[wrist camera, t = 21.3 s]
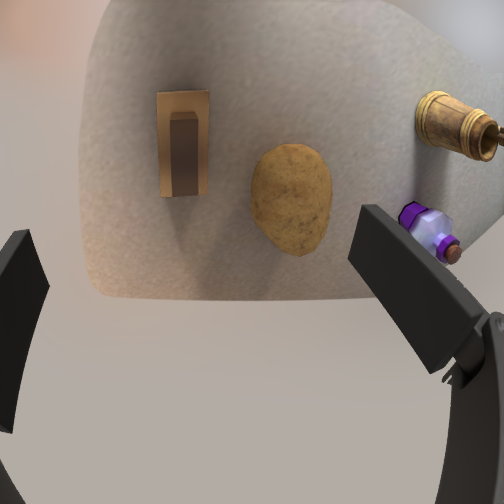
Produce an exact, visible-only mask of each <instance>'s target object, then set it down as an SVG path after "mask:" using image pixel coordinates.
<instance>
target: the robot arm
mask: <svg viewBox="0 0 504 504" xmlns="http://www.w3.org/2000/svg"><path fill="white" fill-rule="evenodd" d="M348 260H349V261H350V263H351V264H352V265H353V267H354V268H355V269H356V270H357V272H358V273H359V274H360V276H361V277H362V278H363V280H364V281H365V282H366V284H367V285H368V286H369V288H370V289H371V290H372V292H373V293H374V294H375V296H376V297H377V298H378V300H379V301H380V302H381V304H382V305H383V307H384V308H385V309H386V311H387V312H388V313H389V315H390V316H391V318H392V319H393V320H394V322H395V323H396V325H397V326H398V328H399V329H400V330H401V332H402V333H403V335H404V336H405V338H406V339H407V341H408V342H409V343H410V345H411V346H412V348H413V349H414V351H415V352H416V354H417V355H418V357H419V358H420V360H421V361H422V363H423V364H424V366H425V367H426V369H427V370H428V372H429V374H432V373H434V372H436V371H438V370H440V369H442V368H444V367H445V366H446V364H447V363H448V362H449V361H450V359H451V358H452V357H454V358H455V360H456V362H455V363H454V365H453V366H452V367H451V368H450V370H449V371H448V372H447V373H446V374H445V375H444V377H443V378H442V382H443V383H444V382H445V381H446V380H447V379H448V378H449V376H450V375H452V378H451V379H450V380H449V381H448V383H447V384H450V385H452V391H451V407H450V419H449V429H448V438H447V445H446V452H445V458H444V465H443V470H442V475H441V480H440V484H439V489H438V493H437V497H436V501H435V504H504V314H502V313H500V312H493V313H491V315H490V314H489V313H488V312H487V311H486V310H485V309H484V308H483V306H482V305H481V304H480V303H479V302H478V301H477V300H476V299H475V297H474V296H473V295H472V294H471V293H470V292H469V291H468V290H467V289H466V288H464V287H463V284H462V283H461V282H460V281H459V280H457V278H456V277H455V276H454V275H453V274H452V273H451V272H450V271H449V270H448V269H447V268H445V267H444V266H443V265H442V264H441V263H440V262H439V261H438V260H437V259H436V258H435V257H434V256H433V255H431V254H430V253H429V252H428V251H427V250H426V249H425V248H424V247H423V246H422V245H421V244H420V243H419V242H418V241H417V240H416V239H415V238H414V237H413V236H411V235H410V234H409V233H408V232H407V231H406V230H405V229H404V228H403V227H402V226H401V225H399V224H398V223H397V222H396V221H395V220H394V219H393V218H391V217H390V216H389V215H388V214H387V213H386V212H385V211H383V210H382V209H381V208H380V207H379V206H378V205H376V204H367V205H362V207H361V211H360V215H359V219H358V222H357V226H356V230H355V234H354V237H353V241H352V245H351V248H350V252H349V255H348ZM49 287H50V285H49V283H48V281H47V278H46V276H45V273H44V271H43V268H42V265H41V263H40V260H39V257H38V255H37V252H36V249H35V246H34V243H33V240H32V237H31V234H30V231H29V229H26V230H19V231H14V232H13V233H12V235H11V236H10V238H9V239H8V241H7V242H6V243H5V245H4V246H3V248H2V249H1V251H0V431H1V432H6V433H10V434H12V433H13V425H14V417H15V411H16V405H17V400H18V394H19V389H20V384H21V380H22V375H23V371H24V367H25V362H26V359H27V355H28V351H29V348H30V344H31V341H32V337H33V334H34V330H35V327H36V324H37V321H38V318H39V315H40V312H41V309H42V306H43V303H44V300H45V298H46V295H47V292H48V290H49ZM0 504H26V503H25V502H24V500H23V499H22V497H21V495H20V494H19V492H18V490H17V489H16V487H15V485H14V484H13V483H12V481H11V479H10V477H9V475H8V473H7V471H6V470H5V468H4V466H3V464H2V462H1V460H0Z"/></svg>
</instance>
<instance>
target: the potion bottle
mask: <svg viewBox="0 0 504 504" xmlns="http://www.w3.org/2000/svg"><path fill="white" fill-rule="evenodd" d="M398 222H399V225H401V226H402V227H403V228H404V229H405V230H406V231H407V232H408V233H409V234H410V235H411V236H413V237H414V238H415V239H416V240H417V241H418V242H419V243H420V244H421V245H422V246H423V247H424V248H425V249H426V250H427V251H428V252H429V253H430V254H431V255H433V256H435V255H436V257H437V258H438V259H439V260H440V261H441V262H443V263H447V262H448V264H450V265H451V264H454V263H456V262H457V261H458V259H459V258H460V257H461V253H462V249H461V248H460V247H459V244H460V241H459V240H457V239H456V238H455V237H454V236H452V222H453V219H451V218H450V217H448V216H447V215H445V214H444V213H441V212H439V211H437V210H434V209H432V208H430V209H428V208H426V207H424V206H422V205H420V204H418V203H416V202H415V201H413V202H411V203H409V204H408V205H406V206H404V208H403V210H402V211H401V213H400V215H399V216H398Z"/></svg>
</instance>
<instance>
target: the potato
mask: <svg viewBox="0 0 504 504" xmlns="http://www.w3.org/2000/svg"><path fill="white" fill-rule="evenodd" d="M331 203H332V180H331V176H330V173H329V171H328V168H327V166H326V164H325V162H324V161H323V159H322V158H321V156H320V155H319V153H318V152H317V151H315V150H313V149H311V148H309V147H307V146H305V145H303V144H281V145H280V146H278V147H276V148H274V149H272V150H270V151H268V152H267V153H265V154H264V155H263V156H262V158H261V160H260V161H259V163H258V164H257V166H256V168H255V170H254V175H253V179H252V185H251V212H252V215H253V218H254V220H255V223H256V224H257V225H258V226H259V228H260V229H261V230H262V231H263V232H264V233H265V234H266V236H267V237H268V238H269V239H270V240H271V241H272V242H273V243H274V244H275V246H277V247H278V248H279V249H281V250H282V251H283V252H285V253H287V254H290V255H294V256H298V257H301V256H303V255H306V254H308V253H311V252H313V251H315V249H316V248H317V246H318V245H319V243H320V242H321V241H322V239H323V238H324V236H325V233H326V229H327V226H328V222H329V217H330V211H331Z"/></svg>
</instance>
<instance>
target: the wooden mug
mask: <svg viewBox="0 0 504 504" xmlns="http://www.w3.org/2000/svg"><path fill="white" fill-rule="evenodd" d="M415 123H416V130H417V134H418V135H419V137H420V139H421V140H422V141H423V142H424V143H425V144H427V145H429V146H433V147H442V148H445V149H448V150H452V151H455V152H458V153H461V154H464V155H466V157H468V158H471V159H474V160H477V161H480V160H481V161H484V162H488V161H490V160H491V159H492V158H493V157H494V155H495V152H496V150H497V146H498V142H499V145H501V146H504V128H503V127H500V126H498V124H497V122H495V121H494V120H492V119H491V118H490V116H488V115H487V114H486V113H485V112H483V111H482V110H480V109H476V110H474V109H472V108H470V107H469V106H467V105H465V104H463V103H461V102H459V101H457V100H455V99H454V98H453V97H452V96H450V95H449V94H446V93H444V92H441V91H433V92H430V93H428V94H427V95H425V96H424V97H423V98H422V99H421V101H420V103H419V104H418V107H417V111H416V118H415Z"/></svg>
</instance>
